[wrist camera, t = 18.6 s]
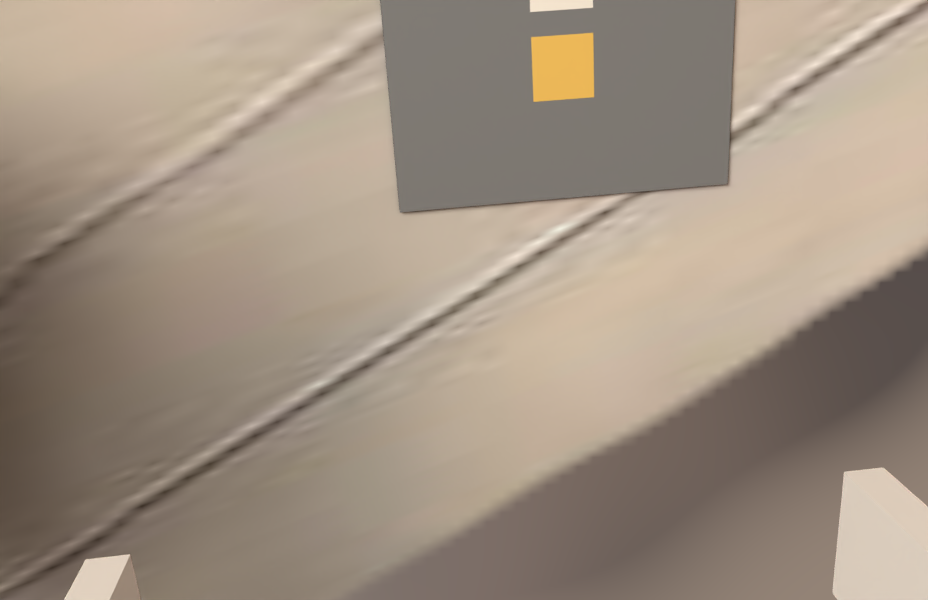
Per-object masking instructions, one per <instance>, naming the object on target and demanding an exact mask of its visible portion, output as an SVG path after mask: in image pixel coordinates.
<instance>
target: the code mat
mask: <svg viewBox="0 0 928 600" xmlns="http://www.w3.org/2000/svg"><path fill="white" fill-rule="evenodd" d="M380 3H381V14H382V25H383V36H384V47H385V57H386V68H387V79H388V90H389V101H390V111H391V122H392V133H393V144H394V155H395V165H396V176H397V187H398V198H399V209H400V212H411V211H422V210H434V209H445V208H457V207H468V206H480V205H491V204H503V203H514V202H526V201H537V200H549V199H560V198H572V197H583V196H595V195H606V194H618V193H630V192H641V191H653V190H664V189H676V188H687V187H699V186H710V185H722V184H728V164H729V140H730V115H731V90H732V66H733V41H734V16H735V0H380Z"/></svg>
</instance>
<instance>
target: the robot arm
mask: <svg viewBox="0 0 928 600" xmlns="http://www.w3.org/2000/svg"><path fill="white" fill-rule="evenodd" d="M832 593H833V594H834V596H835V597H836V598H837V599H838V600H928V507H927V506H926V505H925V504H924V503H923V502H922V501H921V500H919V499H918V498H917V497H916V496H915V495H914V494H913V493H911V492H910V491H909V490H908V489H907V488H906V487H905V486H904V485H902V484H901V483H900V482H899V481H898V480H897V479H896V478H894V477H893V476H892V475H891V474H890V473H889V472H888V471H886V470H885V469H884V468H874V469H866V470H857V471H848V472H844V480H843V490H842V500H841V510H840V520H839V531H838V540H837V550H836V560H835V571H834V581H833V592H832ZM64 600H141V598H140V593H139V589H138V585H137V581H136V576H135V572H134V568H133V564H132V559H131V555H130V554H128V555H120V556H111V557H102V558H94V559H86V560H85V562H84V563H83V565H82V567H81V569H80V571H79V573H78V575H77V577H76V578H75V580H74V582H73V584H72V586H71V588H70V590H69V591H68V593H67V595H66V597H65V599H64Z"/></svg>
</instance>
